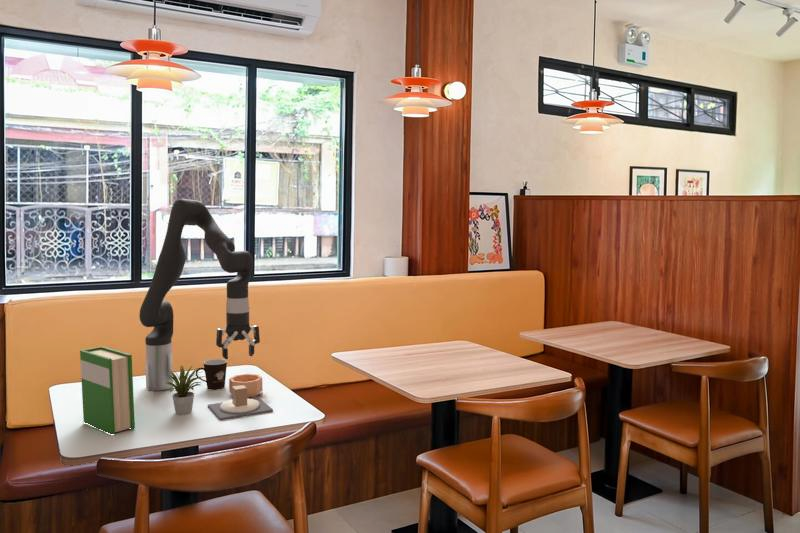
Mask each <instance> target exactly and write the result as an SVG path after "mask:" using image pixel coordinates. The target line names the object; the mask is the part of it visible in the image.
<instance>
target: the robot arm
mask: <svg viewBox="0 0 800 533" xmlns="http://www.w3.org/2000/svg"><path fill="white" fill-rule="evenodd" d="M185 226H193V227H194V226H197V227H198V228H200V229H201V230H202V231H203V232H204V240H205V241H204V242H205V243H206V245H207V246H208V248H209V249H210V250H211V251H212V253H214V254H215V256H216V257H217V260H218V263H219V266H220V267H221V269H222V271H224V272H226V273H229V274H234V273H236V276H235V277H234V278H232V279H230V280H228V281H227V283H226V301H225V302H226V303H225V308H226V310H225V311H226V316H225V317H226V318H225V319H226V326H225V328H219V327H218V328H217V329H216V337H215V338H216V339H215V340H216V342H215V345H216V346H217V347H218V348H221V350H222V351H221V352H222V354H221V355H222V357H223V359H224V360H228V358H229V353H228V352H229V349H228V347H229V345H230V344H232V342H233V341H235V342H236V341H244V340H246V341H247V342H248V355H249V357H253V356H254V355H255V345H257V344H259V343H260V342H261V338H260V327H259V326H258V325H257V324H256V325H255V324H254V325H253V326H250V300H249V284H250V283H249V282H250V281H251V280H250V279H251V277H252V276H251V274H252V271H253V267H254V259H253V256H252V254H251V253H250V252H249V251H247V250H239V251H238V250H237V251H235V249H236V245H235V243H234V242H233V241H232V240H231V239H230V238H229V237H228V236H227V235H226V233H225V232H224V231H223V230H222V229H221V228H220V227H219V225H218V224H217V222H216V220H215V218H214V217H213V215H212V214H211V213H210V210H209V209H208V207H207V206H206V205H205V204H204V203H203V202H202V201H200V200H196V199H188V198H178V199H176V200H175V201H174V202H173V204H172V207H171V210H170V214H169V220H168V223H167V230H166V233H165V237H164V239H163V240H164V241H163V245H162V247H161V250H160V253H159V256H158V260H157V262H156V266H155V268H154V269H155V270H154V273H153V276H152V278H151V282H150V285H149V288H148V290H147V292H146V294H145V296H144V299H143V301H142V304H141V306H140V310H139V314H138V316H139V321H140V323H141V324H142V326H143V327H146V328H152V331H151V332H150V333H148V334H147V335H146V336H145V340H144V341H145V360H146V362H145V387H146V389H147V390H148V391H149V392H150V391H155V392H156V391H158V392H159V391H165V390H169V389H170V387H172V388H174V387H173V386H172V385H169V384H165V383H167V382H172V383H173V384H174V382H173V381H174V380H173V379H172V378H171V377H170V376H172V373H171V372H170V371H173V353H172V349H173V348H172V345H173V344H172V338H173V335H174V309H173V306H172V304H171V303H170V302H169V301H168V300H166V299H165V297H166V295H167V294H168V293H169V291H170V290H171V289H172V288H173V287H174V286H175V285H176V283H177V282H178V280H179V279H180V277H181V275H182V273H183V271H184V267H185V264H186V261H187V258H186V257H187V256H186V252H185V248H184V246H183V242H182V234H183V229H184V228H185ZM250 332H252V333H253V339H252V338H251V336H250V335H249V333H250ZM225 334H226V337H225V339H224V341H223V336H224V335H225ZM168 373H169V374H168ZM170 374H171V375H170ZM166 375H170V376H169V377H170V378H171V379H172V380H173V381H172V380H171V379H170V378H169V377H168V376H166Z"/></svg>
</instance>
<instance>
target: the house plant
mask: <svg viewBox="0 0 800 533" xmlns="http://www.w3.org/2000/svg"><path fill="white" fill-rule="evenodd" d="M179 367H180V369H179V371H180V372H179V374H176V373H175V372H174V371H173V370H172V371H170V372H171V373H172V376H170V375H171V374H170V375H166V376H168V377H169V376H170V377H171V378H172V379H173V380H172V379H171V378H170V377H169V378H170V379H171V380H172V381H173V383H172V382H167V383H165V384H169V385H172V386H173V387H170V389H168V392H169V393H171V392H174V391H175V393H173V394H172V396H171V397H172V402H173V405H174V411H175V414H176V415H178V416H185V415H190V414H191V413H192V412H193V408H194V407H193V405H194V398H195V392H194V387H197V386H201V387H203V382H201V381H200V382H199V381H196V380H200V379H199V378H201V379H202V378H206V376H205V375H204V376H201V374H200V373H202V371H200V372H199V371H198V372H197V373H196V370H198V369H199V368H200V367H197V368H195V369H194V370H193V371H192V372H191V373H190V371H191V370H192V368H193V365H191V366H190V367H189V368H188V370H187V372H186V371H185V369H184V365H180V366H179ZM189 373H190V374H189ZM168 374H169V373H168ZM196 374H197V375H198V376H199V377H197V375H196ZM192 382H193V383H192Z"/></svg>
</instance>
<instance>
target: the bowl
mask: <svg viewBox="0 0 800 533" xmlns="http://www.w3.org/2000/svg"><path fill="white" fill-rule="evenodd" d="M228 383H229V384H228V385H229V390H228V391H229V393H231V395H232V387H233V386H240V385H244V386H245V387H247V399H248V398H250V397H251V398H254V397H259V395H261V392H263V391H264V390H263V377H262V376H261V375H260V374H255V373H254V374H253V373H243V374H236V375H234V376H231V377H230V378H228Z"/></svg>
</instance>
